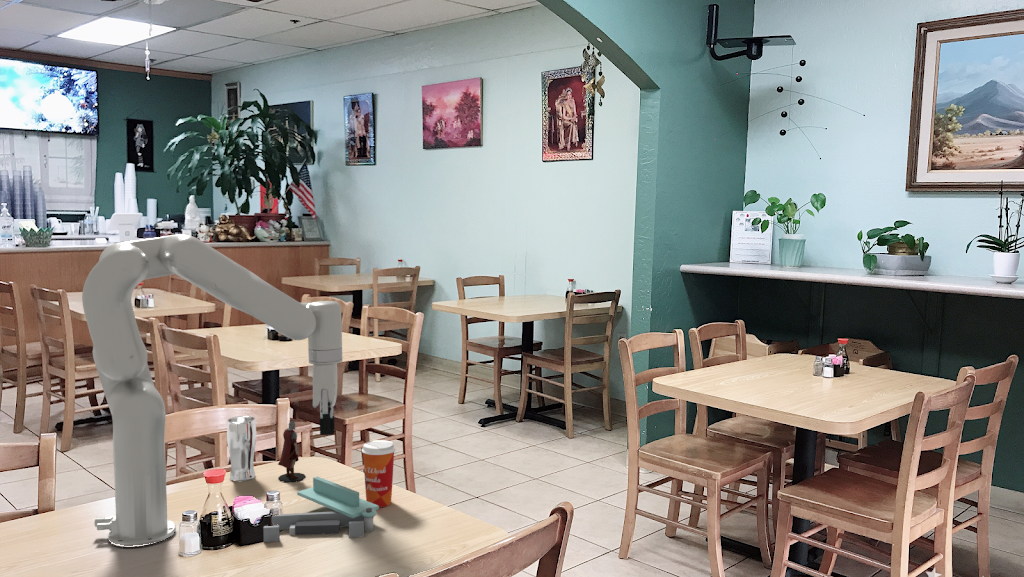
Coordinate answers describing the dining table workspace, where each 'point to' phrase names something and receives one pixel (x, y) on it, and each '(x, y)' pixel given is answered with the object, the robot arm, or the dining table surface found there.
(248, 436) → the beer glass
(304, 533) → the usb flash drive
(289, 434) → the figurine
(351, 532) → the grey frame
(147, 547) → the dining table surface
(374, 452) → the paper cup
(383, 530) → the dining table surface
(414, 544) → the dining table surface
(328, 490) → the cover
